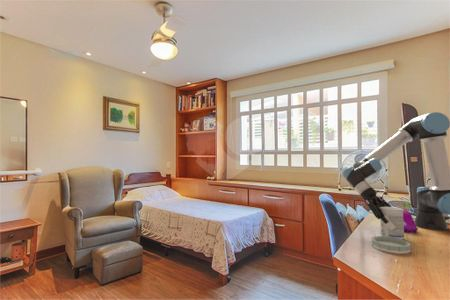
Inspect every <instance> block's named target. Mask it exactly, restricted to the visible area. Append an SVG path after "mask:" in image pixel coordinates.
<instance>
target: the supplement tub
mask: <svg viewBox="0 0 450 300" xmlns="http://www.w3.org/2000/svg"><path fill="white" fill-rule="evenodd" d="M380 209H381V211H382V213H383V214H384V216H385V215H386V217H387V218H388V219H389V220H390V221H391V222H392V223H393V224H394V225H395V226H396V228H394V229H393V230H390V229H389V228H388V226H387V225H386V224H385V223H384V222H383V221H382V220H381V219H380V234H381V235H380V236H386V237H394V238H398V239H402V240H405V232H404V221H403V208H400V207H395V206H392V207H380Z"/></svg>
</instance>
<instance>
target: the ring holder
mask: <svg viewBox="0 0 450 300" xmlns="http://www.w3.org/2000/svg"><path fill="white" fill-rule="evenodd" d="M371 247H373V248H374V249H376V250H378V251H381V252H386V253H389V254H397V255H407V254H410V253H411V249H412V244H411V243H410V241H407V240H405V239H403V240H402V239H398V238H394V237H386V236H381V235H377V236H376V235H375V236H372V237H371Z"/></svg>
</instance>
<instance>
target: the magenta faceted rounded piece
mask: <svg viewBox="0 0 450 300" xmlns="http://www.w3.org/2000/svg"><path fill="white" fill-rule="evenodd" d="M402 204H403V208H404V209H403V208H402V210H403V221H404V222H405V223H406V225H405V226H404V233H407V234H408V233H416V232H417V231H418V229H419V228H418V226H416V225H415V222H414V220H415V219H413V216H412V214H411V212H409V210H407V208H410V209H412V207H411V206H409V205H408V204H406V203H405V202H404V203H402Z"/></svg>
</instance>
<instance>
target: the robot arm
mask: <svg viewBox="0 0 450 300" xmlns="http://www.w3.org/2000/svg"><path fill="white" fill-rule="evenodd" d="M449 128H450V119H449V117H448V116H447V115H446V114H444V113H442V112H439V111H438V112H437V111H435V112H434V111H433V112H428V113H424V114H421V115H418V116H415V117H413V118H412V119H410V120H409V121H408V122H407V123H405V124H404V125H403V126H402V127H400V128H399V129H397V133H395V134H394V135H393V136H392V137H390V138H389V139H387V140H386V141H385V142H383V143H382V144H381V145H379V146H378V147H376V148H375V149H374V150H373V151H371V152H370V153H368V154H367V155H365V156H363V158H361V160H358V161H356V162H354V163H353V165H352V166H349V167H346V169H344V170H343V172H342V176H343V178H344V179H345V180H346V181H347V182H348V184H350V186H351V187H352V188H353V189H354V190H355V191H356V193H357V194H358V195H359V196H360V197H361V198H362V199H363V201H364V203H365V204H366V205H367V207H368V208H369V209H370V211H371V212H372V213H373V215H374V217H375V218H377V220H380V221H381V220H382V221H383V222H384V223H385V224H386V225H387V226H388V228H389V229H390V230H393V229H394V228H396V226H395V225H394V224H393V223H392V222H391V221H390V220H389V219H388V218H387V217H386V215H385V216H384V214H383V213H382V211H381V209H380V207H393V206H392V205H391V204H390V203H389V202H387V201H386V200H385V199H384V198H383V197H378V194H377V193H378V192H377V191H376V190H375V189H374V187H372V185H371V184H370V183H369V182H367V180H366V179H368V178H370V177H371V176H373V175H374V174H376V173H378V172H379V171H381V170H382V169H383V165H382V164H381V162H382V161H383V160H385V159H386V158H388V157H389V156H391V155H392V154H393V153H395V152H396V151H397V150H398V149H400V148H401V147H403V146H404V145H405V144H407V143H409V142H410V143H411V142H413V141H414V140H416V139H419V140H420V141H421V142H422V143H423V145H424V151H425V152H424V153H425V156H426V162H427V167H428V173H429V177H430V182H431V186H419V187H417V188H416V203H417V205H416V206H417V212H416V215H415V219H413V220H414V222H415V225H416V227H417V228H418V227H419V228H422V229H427V230H434V231H446V230H447V231H448V229H449V225H448V222H447V221H446V218H445V216H444V215H450V163H449V158H448V152H447V147H446V142H445V139H446V138H447V137H448V133H447V131H448V130H449ZM405 225H406V223H405V222H404V226H405Z"/></svg>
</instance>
